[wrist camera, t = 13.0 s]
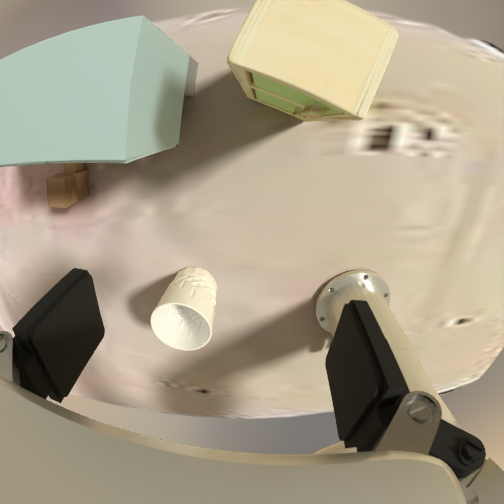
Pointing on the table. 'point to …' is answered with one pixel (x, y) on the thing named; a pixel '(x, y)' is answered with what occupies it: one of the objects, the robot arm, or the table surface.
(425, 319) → the table surface
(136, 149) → the cabinet
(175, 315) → the white cup
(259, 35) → the toy refrigerator
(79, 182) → the brown boxy piece
